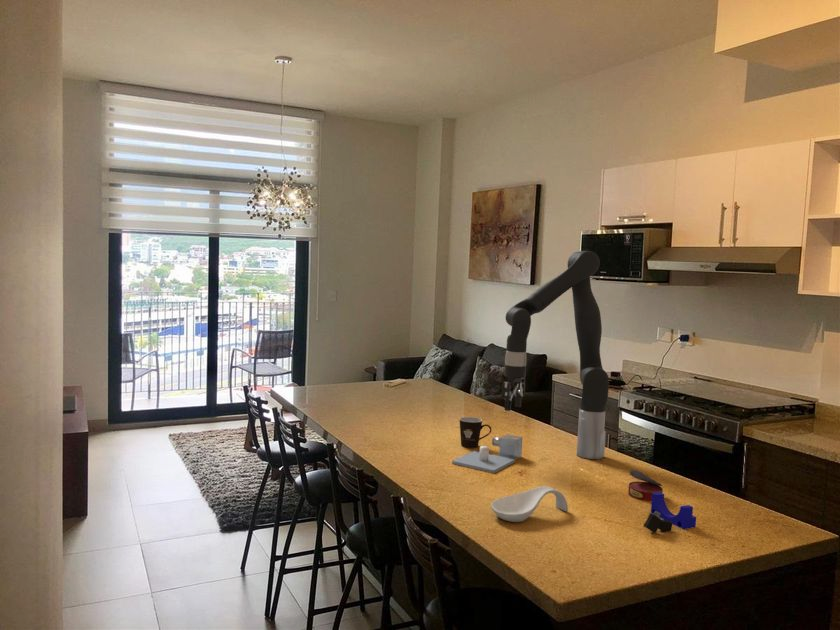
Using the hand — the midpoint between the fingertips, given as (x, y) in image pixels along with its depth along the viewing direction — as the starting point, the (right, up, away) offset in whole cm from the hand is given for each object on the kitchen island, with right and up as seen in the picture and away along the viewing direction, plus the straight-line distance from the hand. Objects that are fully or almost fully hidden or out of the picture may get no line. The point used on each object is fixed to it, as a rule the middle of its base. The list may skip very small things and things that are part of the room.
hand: (512, 408), depth 239 cm
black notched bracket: (+29, -24, -62) cm, 73 cm away
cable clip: (+37, -24, -53) cm, 69 cm away
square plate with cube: (-11, -18, -7) cm, 22 cm away
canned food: (+36, -22, -34) cm, 54 cm away
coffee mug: (-13, -16, +13) cm, 25 cm away
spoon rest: (-3, -22, -54) cm, 58 cm away
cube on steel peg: (-2, -17, +2) cm, 18 cm away
